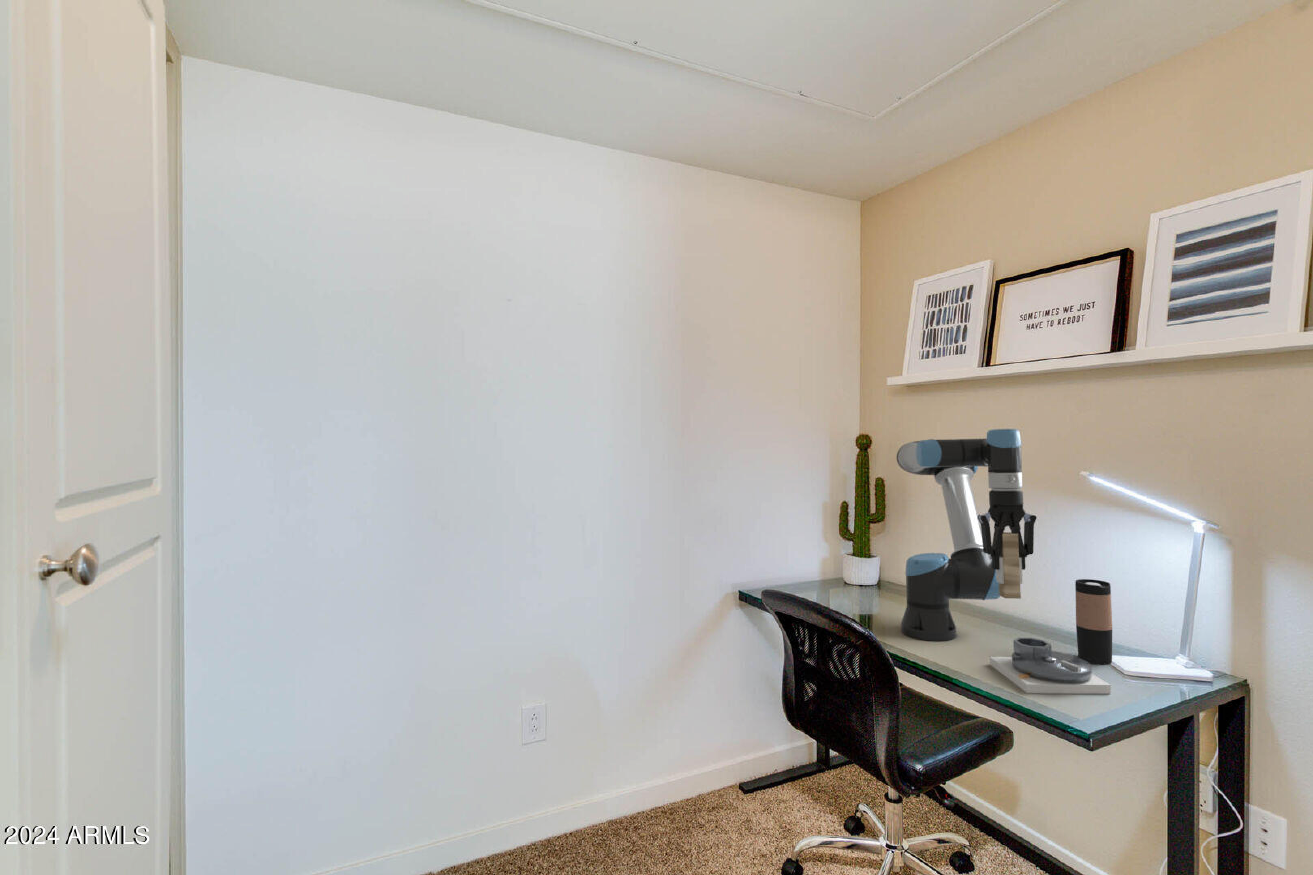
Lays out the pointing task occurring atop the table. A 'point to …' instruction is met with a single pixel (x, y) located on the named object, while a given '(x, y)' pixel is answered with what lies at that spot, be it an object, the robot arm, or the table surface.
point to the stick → (1010, 566)
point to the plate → (1048, 681)
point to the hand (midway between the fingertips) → (1009, 582)
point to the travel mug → (1094, 621)
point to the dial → (1048, 662)
